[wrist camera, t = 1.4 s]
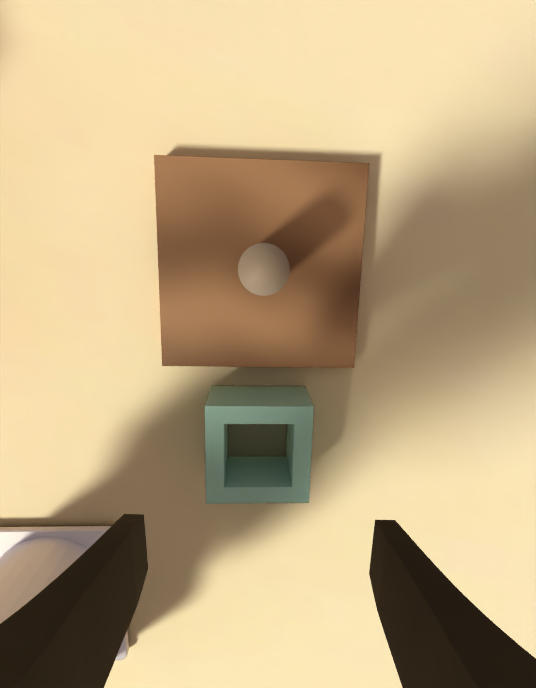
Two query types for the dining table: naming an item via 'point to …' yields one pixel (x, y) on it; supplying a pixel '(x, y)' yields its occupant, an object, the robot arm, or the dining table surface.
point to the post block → (259, 260)
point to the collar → (258, 472)
